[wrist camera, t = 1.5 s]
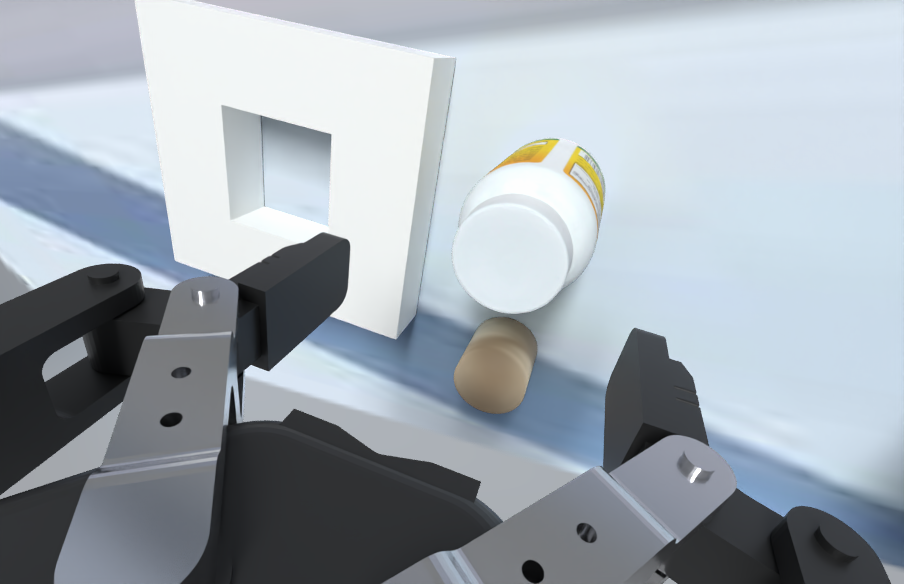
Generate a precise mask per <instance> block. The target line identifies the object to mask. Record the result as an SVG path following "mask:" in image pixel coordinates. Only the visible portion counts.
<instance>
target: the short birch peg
mask: <svg viewBox="0 0 904 584" xmlns="http://www.w3.org/2000/svg"><path fill="white" fill-rule="evenodd" d="M536 355H537V343H536V340H535V337H534V335H533V334H532V332H531V331H530V330H529V329H528V328H527V327H526V326H525V325H523V324H522V323H520V322H519V321H517V320H514V319H511V318H507V317H495V318H491V319H488V320H486V321H484V322H483V323H482V324H481V325H480V326H479V327H478V328H477V330H476V332H475V333H474V335H473V337H472V339H471V341H470V343H469V344H468V346H467V348H466V350H465V352H464V354H463V355H462V357H461V359H460V361H459V363H458V365H457V367H456V369H455V372H454V383H455V386H456V389H457V391H458V393H459V394H460V396H461V397H462V398H463V399H464V400H465V401H466V402H467V403H468V404H470V405H471V406H473V407H474V408H476V409H478V410H481V411H484V412H487V413H493V414H501V413H506V412H509V411H512V410H514V409H515V408H517V407H518V406H519V405H520V404H521V402H522V400H523V398H524V395H525V392H526V388H527V385H528V382H529V378H530V375H531V372H532V369H533V365H534V362H535V359H536Z"/></svg>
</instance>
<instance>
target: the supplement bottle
mask: <svg viewBox="0 0 904 584" xmlns="http://www.w3.org/2000/svg"><path fill="white" fill-rule="evenodd" d="M604 200H605V181H604V176H603V173H602V170H601V168H600V166H599V164H598V163H597V161H596V159H595V158H594V157H593V156H592V155H591V153H590V152H588V151H587V150H586V149H585V148H584V147H582V146H581V145H579V144H577V143H575V142H573V141H570V140H567V139H562V138H543V139H539V140H535V141H532V142H530V143H528V144H526V145H524V146H522V147H521V148H519V149H518V150H517V151H515V152H514V153H513V154H511V155H510V156H509V157H508V158H507V159H505V160H504V161H503V162H502V163H501V164H499V165H498V166H497V167H495V168H494V169H493V170H492V171H490V172H489V173H488V174H487V175H486V176H484V177H483V178H482V179H481V180H480V181H479V182H478V183H477V184H476V185H475V186H474V187H473V188H472V190H471V191H470V192H469V194H468V196H467V197H466V199H465V201H464V203H463V206H462V209H461V212H460V216H459V223H458V231H457V233H456V235H455V238H454V241H453V246H452V263H453V268H454V272H455V275H456V277H457V279H458V281H459V283H460V284H461V286H462V287H463V289H464V290H465V291H466V292H467V294H468V295H469V296H470V297H472V298H473V299H474V300H475V301H477V302H478V303H479V304H481V305H483V306H485V307H486V308H489V309H491V310H494V311H497V312H501V313H507V314H521V313H527V312H531V311H534V310H537V309H539V308H541V307H543V306H545V305H546V304H548V303H549V302H550V301H551V300H552V299H553V298H554V297H555V296H556V295H557V294H558V293H559V292H560V290H561V289H563V288H565V287H567V286H568V285H570V284H571V283H572V282H573V281H575V280H576V279H577V278H578V277H579V276H580V275H581V274H582V272H583V271H584V270H585V268H586V267H587V265H588V264H589V262H590V260H591V258H592V255H593V253H594V250H595V246H596V242H597V238H598V232H599V227H600V221H601V216H602V211H603V205H604Z"/></svg>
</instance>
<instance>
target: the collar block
mask: <svg viewBox="0 0 904 584" xmlns="http://www.w3.org/2000/svg"><path fill="white" fill-rule="evenodd" d="M135 6H136V12H137V19H138V25H139V32H140V38H141V44H142V51H143V57H144V64H145V70H146V77H147V83H148V90H149V96H150V102H151V109H152V115H153V122H154V128H155V135H156V141H157V148H158V154H159V161H160V167H161V173H162V180H163V186H164V193H165V199H166V206H167V212H168V219H169V225H170V231H171V238H172V244H173V251H174V257H175V261H177V262H180V263H183V264H186V265H188V266H191V267H194V268H197V269H200V270H202V271H205V272H208V273H211V274H214V275H216V276H219V277H222V278H225V279H230V278H232V277H233V276H235V275H237V274H239V273H240V272H242V271H244V270H246V269H247V268H249V267H251V266H252V265H254V264H256V263H258V262H261V260H263V259H265V258H266V257H268V256H272V254H273V253H275V252H277V251H278V250H280V249H282V248H284V247H287V246H290V245H294V244H298V243H304V242H306V241H308V240H309V239H311V238H313V237H314V236H316V235H318V234H319V233H321V232H325V233H329V234H332V235H335V236H338V237H342V238H345V239H347V240H348V241H349V242H350V263H349V279H348V290H347V294H346V297H345V299H344V301H343V303H342V304H341V306H340V307H339V308H338V309H337V310H336V311H335V312H333V313H332V314H331V315H330V316H331V317H334V318H337V319H339V320H342V321H345V322H348V323H351V324H353V325H356V326H359V327H362V328H365V329H367V330H370V331H373V332H376V333H379V334H381V335H384V336H387V337H390V338H393V339H395V340H396V339H397V338H398V337H399V335H400V334H401V333H402V332H403V330H404V329H405V328H406V327H407V325H408V324H409V323H410V322H411V320H412V319H413V318H414V317H415V316H416V310H417V304H418V298H419V291H420V285H421V279H422V272H423V266H424V259H425V253H426V247H427V240H428V234H429V228H430V221H431V215H432V209H433V202H434V196H435V190H436V183H437V177H438V170H439V164H440V158H441V151H442V145H443V139H444V132H445V126H446V120H447V113H448V107H449V100H450V94H451V88H452V81H453V75H454V69H455V62H456V58H455V57H451V56H446V55H442V54H437V53H432V52H428V51H423V50H419V49H414V48H409V47H405V46H400V45H396V44H391V43H386V42H382V41H377V40H373V39H368V38H363V37H359V36H354V35H350V34H345V33H340V32H336V31H331V30H327V29H322V28H317V27H313V26H308V25H304V24H299V23H294V22H290V21H285V20H281V19H276V18H271V17H267V16H262V15H258V14H253V13H248V12H244V11H239V10H234V9H230V8H225V7H221V6H216V5H211V4H207V3H202V2H198V1H193V0H135ZM261 115H262V116H265V117H269V118H273V119H277V120H280V121H284V122H288V123H291V124H295V125H299V126H303V127H306V128H310V129H314V130H318V131H321V132H325V133H329V134H332V136H331V164H330V192H329V220H328V226H325V225H322V224H319V223H316V222H312V221H309V220H306V219H303V218H300V217H297V216H293V215H290V214H287V213H284V212H281V211H277V210H274V209H271V208H268V207H265V206H264V184H263V159H262V134H261Z"/></svg>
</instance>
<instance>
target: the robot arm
mask: <svg viewBox="0 0 904 584" xmlns="http://www.w3.org/2000/svg"><path fill="white" fill-rule="evenodd" d="M349 263H350V242H349V241H348V240H347V239H345V238H342V237H338V236H335V235H332V234H329V233H325V232H321V233H319V234H318V235H316V236H314V237H313V238H311V239H309V240H308V241H306V242H304V243H298V244H294V245H290V246H287V247H284V248H282V249H280V250H278V251H277V252H275V253H273V254H272V256H268V257H266V258H265V259H263V260H261V262H258V263H256V264H254V265H252V266H251V267H249V268H247V269H246V270H244V271H242V272H240V273H239V274H237V275H235V276H233V277H232V278H230V279H225V278H221V277H209V276H208V277H197V278H192V279H189V280H186V281H183V282H181V283H179V284H178V285H176V286H175V287H174V288H173V289H172V291H170V290H161V289H153V288H145V287H144V286H143V281H142V276H141V273H140V271H139V270H138V269H136V268H135V267H132V266H129V265H124V264H101V265H94V266H90V267H86V268H83V269H81V270H78V271H76V272H73V273H71V274H69V275H67V276H64V277H62V278H60V279H57V280H55V281H53V282H51V283H48V284H46V285H44V286H42V287H39V288H37V289H35V290H32V291H30V292H28V293H26V294H23V295H21V296H19V297H16V298H14V299H12V300H10V301H7V302H5V303H3V304H1V305H0V495H1V494H2V493H4V492H5V491H6V490H8V489H9V488H10V487H11V486H12V485H14V484H15V483H17V482H18V481H19V480H21V479H22V478H23V477H25V476H26V475H27V474H28V473H30V472H31V471H32V470H34V469H35V468H36V467H38V466H39V465H40V464H42V463H43V462H44V461H45V460H47V459H48V458H49V457H51V456H52V455H53V454H55V453H56V452H57V451H58V450H60V449H61V448H63V447H64V446H65V445H66V444H67V443H69V442H70V441H72V440H73V439H74V438H75V437H77V436H78V435H79V434H81V433H82V432H83V431H85V430H86V429H87V428H89V427H90V426H91V425H93V424H94V423H95V422H96V421H98V420H99V419H100V418H102V417H103V416H104V415H106V414H107V413H108V412H109V411H111V410H112V409H113V408H115V407H116V406H117V405H118V404H120V403H121V402H123V403H122V406H121V409H120V412H119V415H118V418H117V421H116V424H115V427H114V430H113V433H112V436H111V439H110V442H109V445H108V448H107V451H106V454H105V457H104V460H103V463H102V465H101V467H98V468H95V469H92V470H89V471H86V472H83V473H80V474H77V475H74V476H71V477H68V478H65V479H62V480H59V481H56V482H52V483H49V484H46V485H43V486H40V487H37V488H34V489H31V490H28V491H25V492H22V493H18V494H15V495H12V496H9V497H6V498H3V499H0V584H663V583H664V582H665V581H666V580H667V579H668V578H671V579H672V580H673V581H675V582H676V583H677V584H891V583H890V580H889V578H888V576H887V574H886V572H885V569H884V567H883V565H882V563H881V561H880V560H879V558H878V556H877V555H876V553H875V552H874V550H873V549H872V548H871V547H870V546H869V545H868V543H867V542H866V541H865V540H864V539H863V538H862V537H861V536H860V535H859V534H857V533H856V532H855V531H854V530H853V529H851V528H850V527H849V526H848V525H846V524H845V523H843V522H842V521H840V520H839V519H837V518H835V517H834V516H832V515H830V514H828V513H826V512H823V511H821V510H818V509H815V508H812V507H807V506H799V507H795V508H792V509H791V510H790V511H789V512H788V513H787V514H786V515H785V517H782V516H781V515H779V514H777V513H776V512H774V511H772V510H771V509H769V508H767V507H765V506H764V505H762V504H760V503H759V502H757V501H755V500H754V499H752V498H750V497H749V496H747V495H746V494H744V493H743V492H741V491H740V490H739V489H737V488H736V486H737V481H736V477H735V475H734V472H733V470H732V469H731V467H730V466H729V464H728V463H727V462H726V461H725V460H724V459H723V458H722V457H721V456H720V455H719V454H718V453H717V452H716V451H715V450H713V449H712V448H710V447H709V444H708V439H707V435H706V431H705V427H704V423H703V418H702V414H701V410H700V408H699V401H698V397H697V395H696V389H695V384H694V380H693V377H692V376H691V375H690V373H689V372H688V371H687V369H686V368H685V367H684V365H683V364H682V363H681V362H678V361H675V360H672V359H669V355H668V349H667V344H666V339H665V337H663V336H660V335H657V334H653V333H650V332H647V331H644V330H640V329H637V328H634V329H633V330H632V331H631V333H630V335H629V337H628V339H627V341H626V343H625V346H624V348H623V350H622V352H621V355H620V357H619V359H618V361H617V363H616V366H615V368H614V370H613V372H612V375H611V377H610V380H609V383H608V387H607V391H606V398H605V428H604V458H603V467H602V466H596V467H594V468H592V469H590V470H588V471H587V472H585V473H583V474H582V475H580V476H578V477H577V478H575V479H573V480H572V481H570V482H569V483H567V484H565V485H564V486H562V487H560V488H559V489H557V490H555V491H554V492H552V493H550V494H549V495H547V496H545V497H544V498H542V499H540V500H539V501H537V502H536V503H534V504H532V505H530V506H529V507H527V508H525V509H524V510H522V511H521V512H519V513H517V514H516V515H514V516H512V517H511V518H509V519H508V520H506V521H504V522H503V521H502V520H501V519H500V518H499V517H498V516H497V515H496V513H494V512H493V511H492V510H491V509H490V508H489V507H488V506H487V505H485V504H484V503H483V502H481V501H480V500H479V499H477V498H476V496H477V493H478V489H479V486H480V483H481V482H480V481H478V480H475V479H473V478H470V477H467V476H465V475H462V474H460V473H457V472H455V471H452V470H449V469H447V468H444V467H442V466H439V465H437V464H434V463H431V462H425V461H418V460H412V459H406V458H399V457H393V456H386V455H381V454H378V453H376V452H374V451H372V450H371V449H370V448H368V447H367V446H365V445H364V444H363V443H361V442H360V441H358V440H357V439H356V438H354V437H353V436H351V435H350V434H348V433H347V432H346V431H344V430H343V429H341V428H340V427H339V426H337V425H334V424H332V423H329V422H327V421H324V420H322V419H319V418H316V417H314V416H312V415H309V414H306V413H304V412H301V411H299V410H296V409H294V410H293V411H292V412H291V413H290V414H289V415H288V416H287V417H286V418H285V419H284V420H283V422H280V421H250V422H243V420H244V396H245V369H246V368H247V367H249V366H250V365H253V366H256V367H258V368H261V369H264V370H266V371H270V370H271V369H272V368H273V367H274V366H275V365H276V364H277V363H278V362H280V361H281V360H282V359H283V358H284V357H285V356H286V355H287V354H288V353H289V352H291V351H292V350H293V349H294V348H295V347H296V346H297V345H298V344H299V343H300V342H302V341H303V340H304V339H305V338H306V337H307V336H308V335H309V334H310V333H311V332H313V331H314V330H315V329H316V328H317V327H318V326H319V325H320V324H321V323H322V322H324V321H325V320H326V319H327V318H328V317H329V316H330V315H331V314H332V313H333V312H335V311H336V310H337V309H338V308H339V307H340V306H341V304H342V303H343V301H344V299H345V297H346V294H347V290H348V279H349ZM80 337H83V340H84V343H85V347H86V350H87V353H88V356H87V357H85V358H83V359H82V360H80V361H79V362H77V363H75V364H74V365H72V366H71V367H69V368H67V369H66V370H64V371H62V372H61V373H59V374H58V375H56V376H54V377H53V378H51V379H50V380H48V381H46V382H44V379H43V376H42V368H43V365H44V363H45V361H46V360H47V359H48V357H49V356H50V355H52V354H53V353H54V352H56V351H57V350H59V349H61V348H63V347H64V346H66V345H68V344H69V343H71V342H73V341H75V340H76V339H78V338H80Z"/></svg>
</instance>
